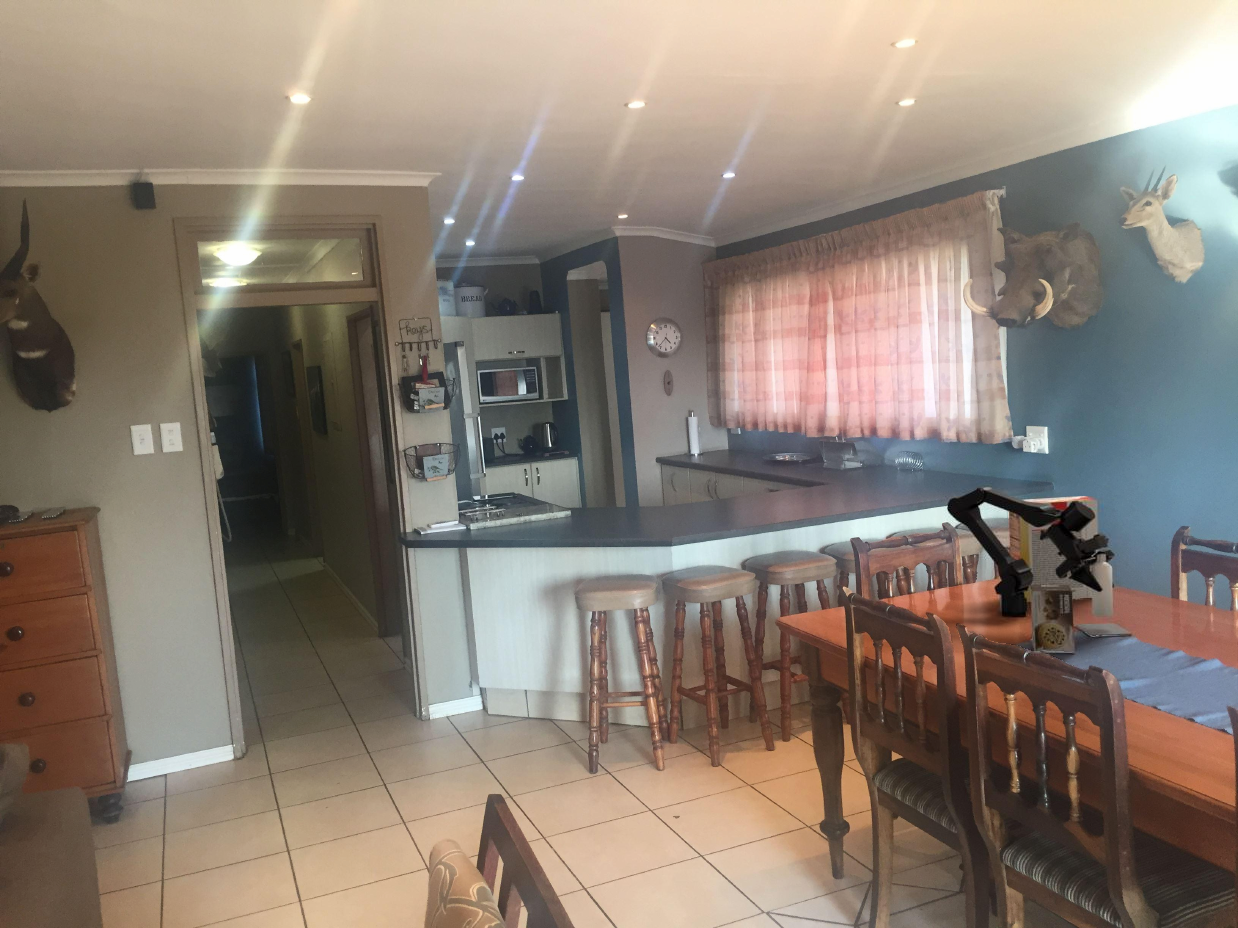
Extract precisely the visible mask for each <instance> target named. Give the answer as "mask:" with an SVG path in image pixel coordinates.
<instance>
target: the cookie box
mask: <svg viewBox="0 0 1238 928" xmlns="http://www.w3.org/2000/svg"><path fill="white" fill-rule="evenodd" d="M1030 587H1031V602H1030V607H1031V610H1030V611H1031V632H1032V633H1031V636H1032V637H1031V638H1032V641H1031V642H1032V648H1034V649H1033V651H1034V652H1035V651H1040V652H1045V651H1042V650H1046V651H1052V650H1053V651H1064V652H1073V653H1076V650H1075V629H1074V627H1075V624H1074V623H1075V622H1074V605H1073V604H1074V602H1073V601H1074V600H1073V596H1072V590H1071V588H1070V586H1069V585H1031V586H1030ZM1044 654H1049V653H1048V652H1045V653H1044Z"/></svg>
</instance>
